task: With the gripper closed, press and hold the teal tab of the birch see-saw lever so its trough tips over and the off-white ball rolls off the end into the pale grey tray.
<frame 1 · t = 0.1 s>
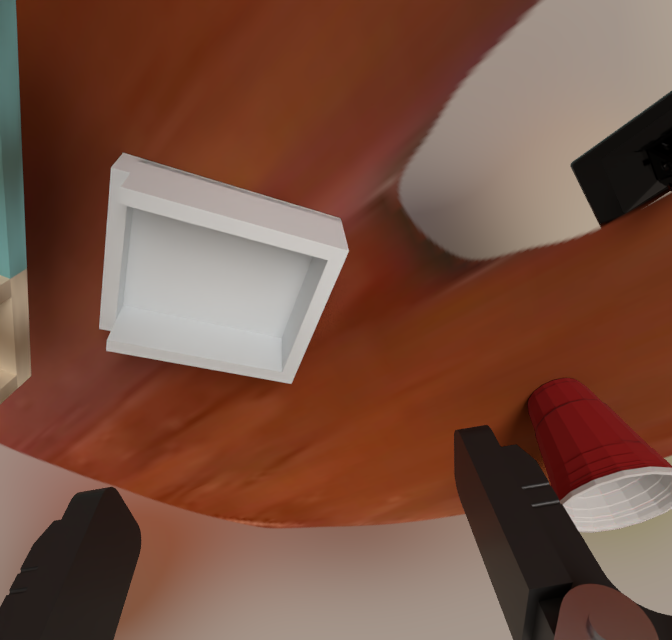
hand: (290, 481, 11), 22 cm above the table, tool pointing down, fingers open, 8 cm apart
plastic cup: (552, 397, 46), on the table
tray: (220, 264, 32), on the table
build plate: (671, 140, 31), on the table
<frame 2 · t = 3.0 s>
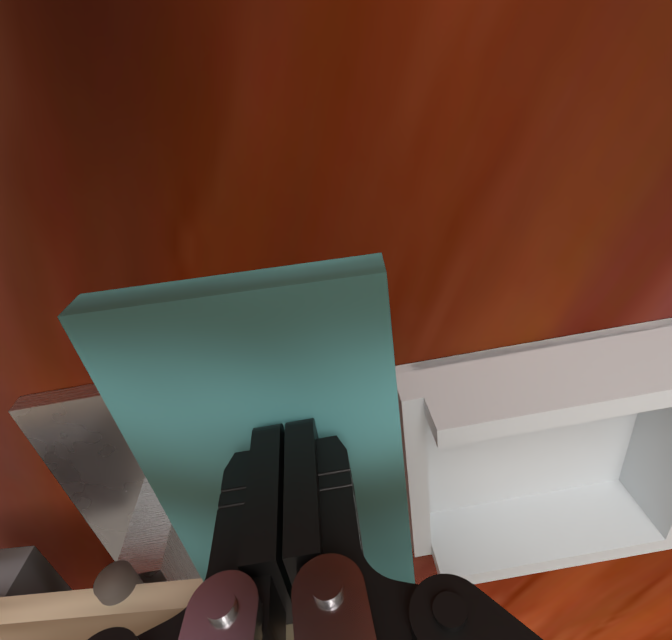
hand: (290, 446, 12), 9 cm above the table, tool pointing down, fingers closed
lever stand: (183, 490, 25), on the table
tray: (522, 430, 25), on the table
lever: (82, 574, 15), point 8 cm above the table, hinge at 4.7°, touching ball, gripper
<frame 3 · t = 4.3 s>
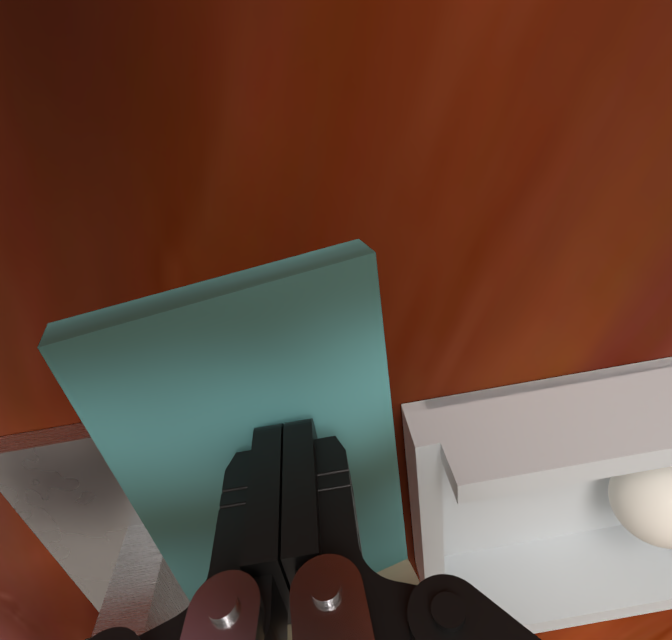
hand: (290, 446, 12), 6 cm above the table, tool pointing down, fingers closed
lever stand: (173, 534, 22), on the table
tray: (545, 469, 23), on the table
ball: (659, 499, 20), point 3 cm above the table, tilted 147°, touching tray
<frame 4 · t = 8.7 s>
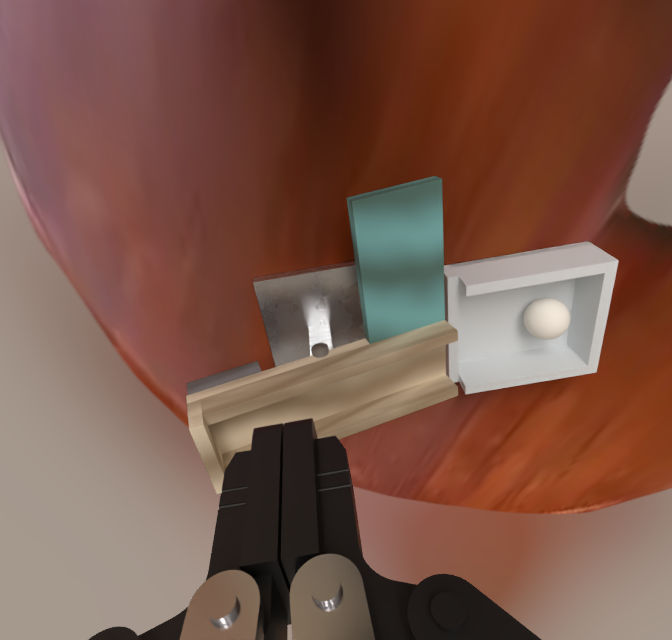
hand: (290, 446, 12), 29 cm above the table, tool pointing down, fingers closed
lever stand: (322, 341, 45), on the table
tray: (510, 309, 45), on the table
ball: (546, 318, 42), point 3 cm above the table, tilted 168°, touching tray
lever: (319, 334, 35), point 8 cm above the table, hinge at -14.4°
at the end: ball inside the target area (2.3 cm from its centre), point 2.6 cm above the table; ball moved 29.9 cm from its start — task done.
